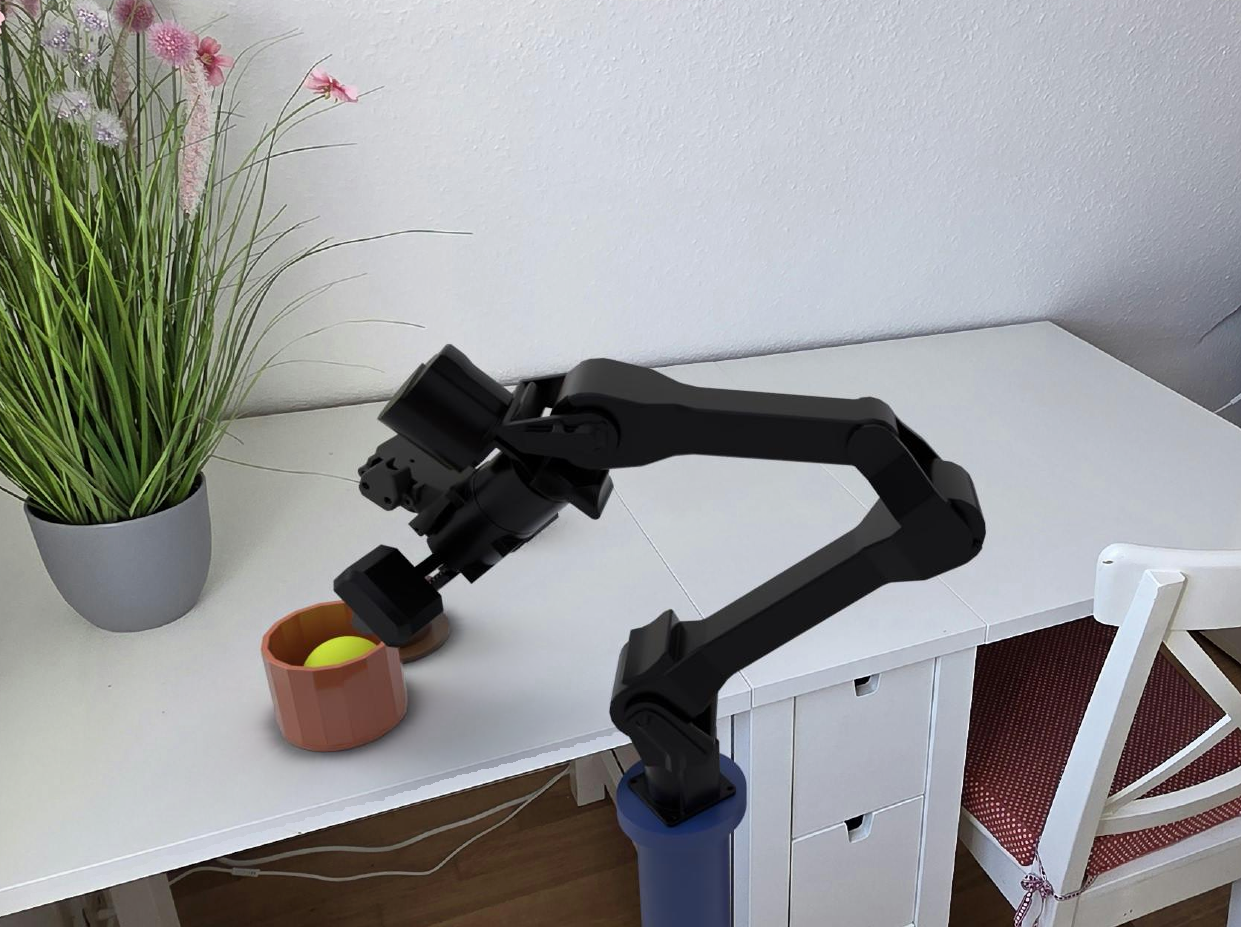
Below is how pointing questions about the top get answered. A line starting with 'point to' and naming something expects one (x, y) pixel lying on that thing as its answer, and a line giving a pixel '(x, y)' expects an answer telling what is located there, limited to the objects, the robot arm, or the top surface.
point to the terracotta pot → (331, 682)
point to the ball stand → (426, 638)
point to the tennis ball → (338, 651)
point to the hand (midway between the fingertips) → (398, 595)
